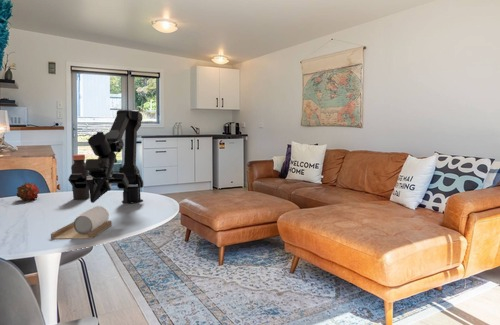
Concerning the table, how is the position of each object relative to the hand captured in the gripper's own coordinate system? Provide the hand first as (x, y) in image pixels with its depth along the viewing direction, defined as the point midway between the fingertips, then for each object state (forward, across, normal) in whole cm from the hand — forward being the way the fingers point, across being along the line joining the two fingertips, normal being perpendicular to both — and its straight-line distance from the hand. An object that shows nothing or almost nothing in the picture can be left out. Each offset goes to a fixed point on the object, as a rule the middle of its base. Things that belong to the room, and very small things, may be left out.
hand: (92, 202), depth 117 cm
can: (+3, +2, +4) cm, 5 cm away
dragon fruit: (-26, -50, +37) cm, 67 cm away
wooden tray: (+10, 0, 0) cm, 11 cm away
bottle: (-27, -27, +38) cm, 53 cm away
